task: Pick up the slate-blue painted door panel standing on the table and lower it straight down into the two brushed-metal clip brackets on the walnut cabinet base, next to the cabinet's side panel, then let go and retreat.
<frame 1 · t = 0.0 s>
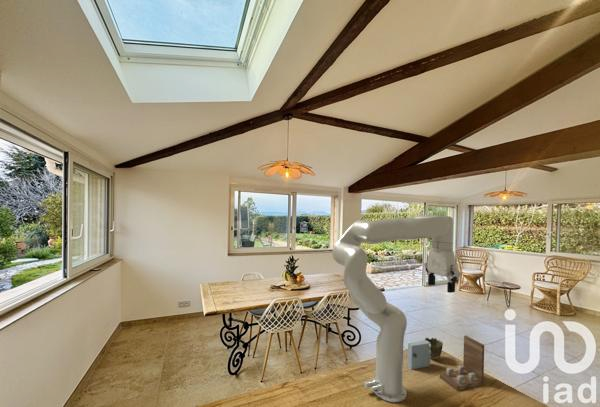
hand: (440, 288, 108), 37 cm above the table, tool pointing down, fingers open, 9 cm apart
cabinet base: (460, 381, 107), on the table
door: (418, 366, 116), on the table
cup: (433, 358, 123), on the table
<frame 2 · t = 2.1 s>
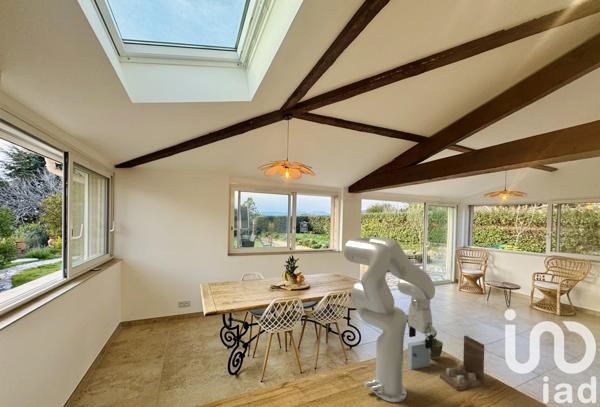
hand: (420, 341, 117), 10 cm above the table, tool pointing down, fingers open, 9 cm apart
nothing on the table moved.
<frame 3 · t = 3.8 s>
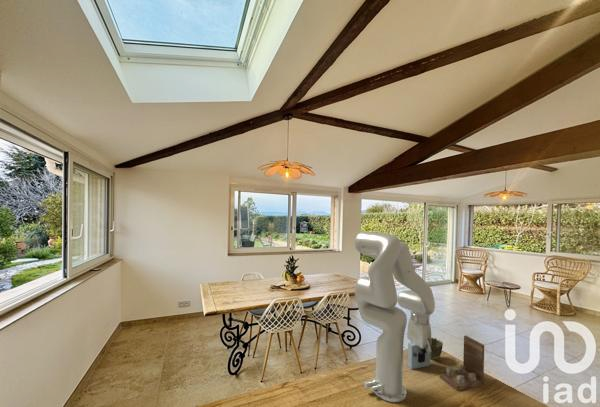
hand: (418, 359, 116), 3 cm above the table, tool pointing down, fingers closed on door, 2 cm apart
door: (418, 365, 116), on the table, touching gripper
everything else where it was.
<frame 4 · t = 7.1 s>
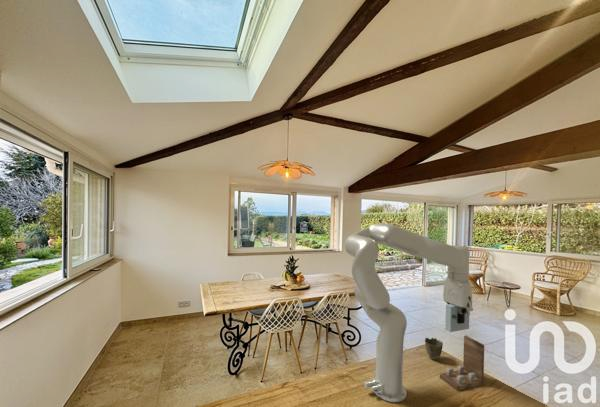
hand: (457, 321, 108), 23 cm above the table, tool pointing down, fingers closed on door
door: (457, 329, 108), point 20 cm above the table, touching gripper
everything else where it was.
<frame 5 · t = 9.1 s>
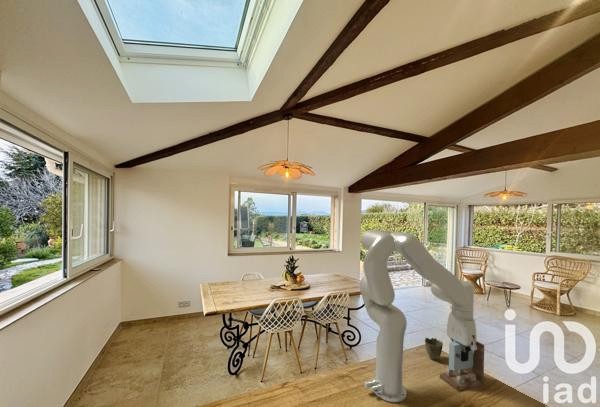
hand: (461, 358, 107), 9 cm above the table, tool pointing down, fingers closed on door
door: (460, 367, 107), point 5 cm above the table, touching gripper
everything else where it was.
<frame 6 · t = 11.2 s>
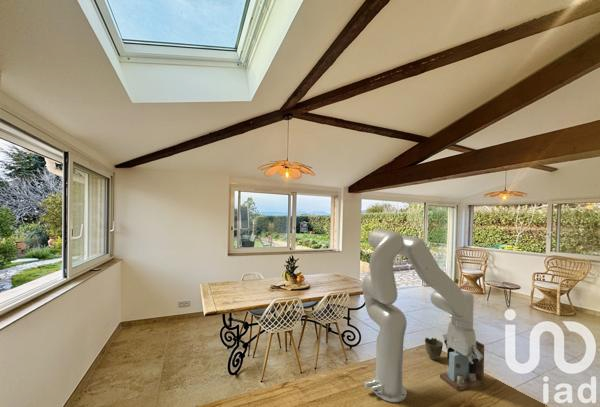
hand: (461, 365, 107), 6 cm above the table, tool pointing down, fingers open, 9 cm apart
door: (460, 377, 107), point 1 cm above the table, touching cabinet base
everything else where it was.
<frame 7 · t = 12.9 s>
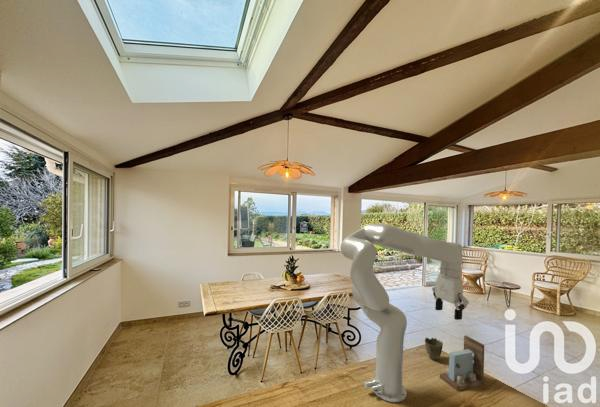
hand: (448, 314, 109), 26 cm above the table, tool pointing down, fingers open, 9 cm apart
nothing on the table moved.
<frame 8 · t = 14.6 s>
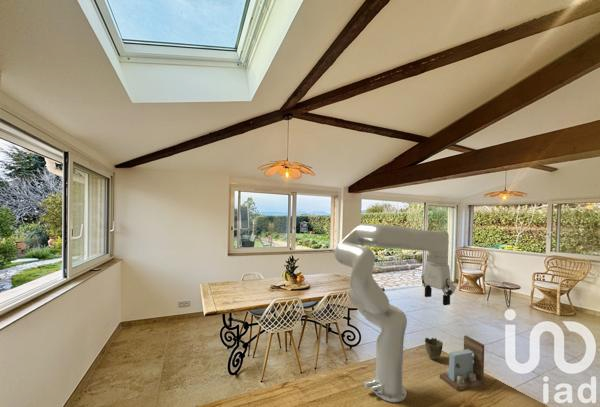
hand: (436, 300, 112), 30 cm above the table, tool pointing down, fingers open, 9 cm apart
nothing on the table moved.
at the end: door 0.1 cm off-centre on the cabinet base, point 1.5 cm above the cabinet base's base; door tilted 0°; the gripper is holding nothing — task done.
